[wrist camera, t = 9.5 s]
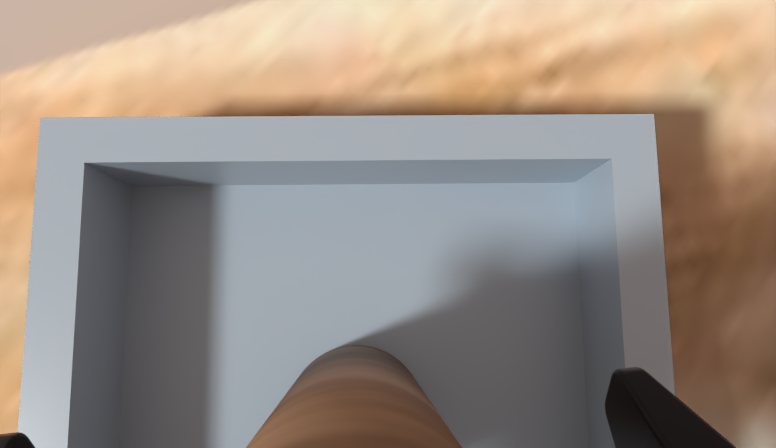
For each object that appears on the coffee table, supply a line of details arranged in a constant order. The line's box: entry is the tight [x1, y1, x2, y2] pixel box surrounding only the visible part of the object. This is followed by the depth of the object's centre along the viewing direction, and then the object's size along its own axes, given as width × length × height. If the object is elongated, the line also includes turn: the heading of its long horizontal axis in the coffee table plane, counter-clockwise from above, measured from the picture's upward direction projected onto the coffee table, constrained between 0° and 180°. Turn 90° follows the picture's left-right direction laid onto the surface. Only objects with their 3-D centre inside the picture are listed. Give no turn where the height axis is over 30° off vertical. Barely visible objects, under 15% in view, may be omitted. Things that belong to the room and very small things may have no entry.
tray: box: [18, 114, 675, 448], centre depth 17 cm, size 16×16×4 cm
